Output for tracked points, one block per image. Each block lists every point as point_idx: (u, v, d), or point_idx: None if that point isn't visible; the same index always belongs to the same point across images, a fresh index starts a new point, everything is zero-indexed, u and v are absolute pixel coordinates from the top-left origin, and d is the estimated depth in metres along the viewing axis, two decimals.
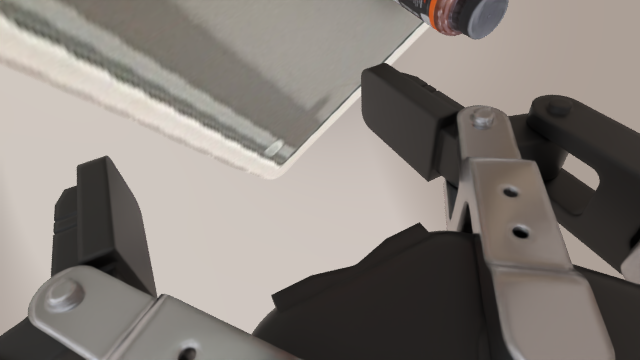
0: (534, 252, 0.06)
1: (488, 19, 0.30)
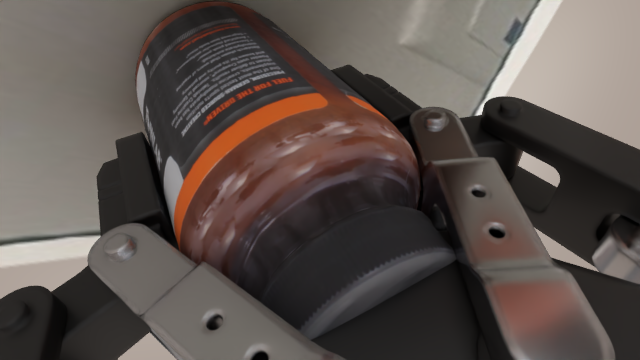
0: (534, 252, 0.06)
1: None
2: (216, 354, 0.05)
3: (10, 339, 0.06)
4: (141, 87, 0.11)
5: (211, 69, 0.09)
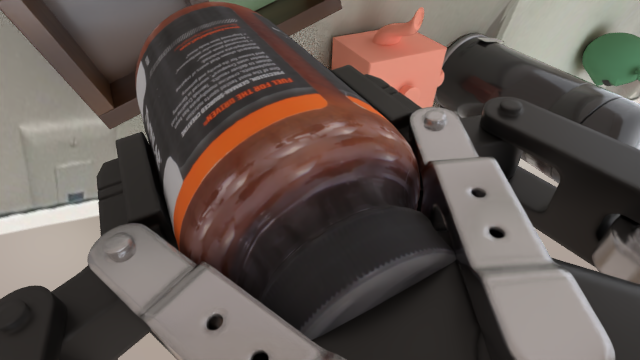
0: (534, 252, 0.06)
1: None
2: (216, 354, 0.05)
3: (11, 339, 0.06)
4: (141, 87, 0.11)
5: (211, 69, 0.09)
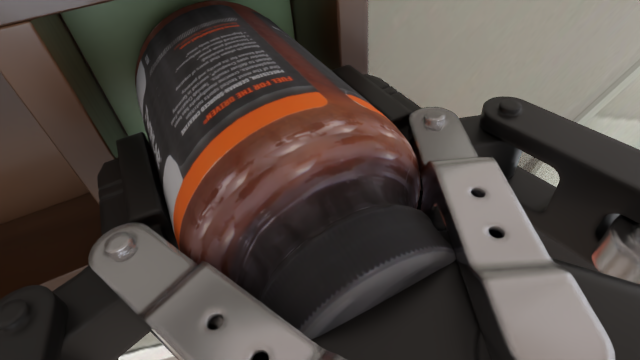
0: (534, 252, 0.06)
1: None
2: (217, 354, 0.05)
3: (12, 338, 0.06)
4: (141, 86, 0.11)
5: (211, 68, 0.09)
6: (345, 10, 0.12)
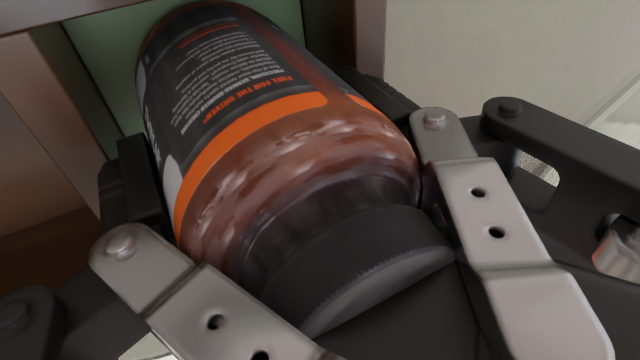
0: (534, 252, 0.06)
1: None
2: (216, 354, 0.05)
3: (11, 338, 0.06)
4: (141, 86, 0.11)
5: (211, 68, 0.09)
6: (362, 17, 0.11)
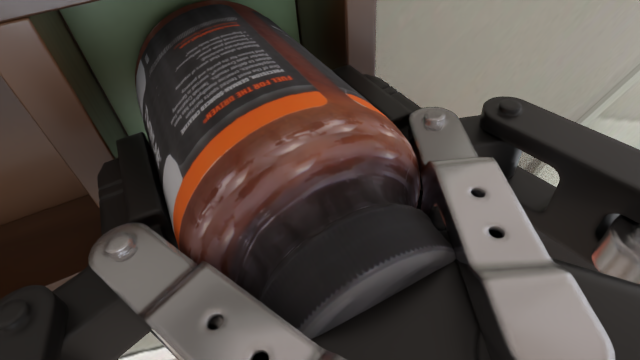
0: (534, 252, 0.06)
1: None
2: (217, 354, 0.05)
3: (11, 338, 0.06)
4: (140, 86, 0.11)
5: (210, 67, 0.09)
6: (353, 9, 0.12)
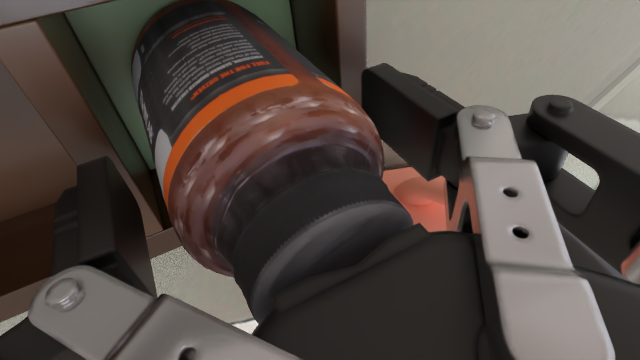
0: (534, 252, 0.06)
1: None
2: None
3: None
4: (136, 73, 0.12)
5: (199, 54, 0.10)
6: (343, 10, 0.12)
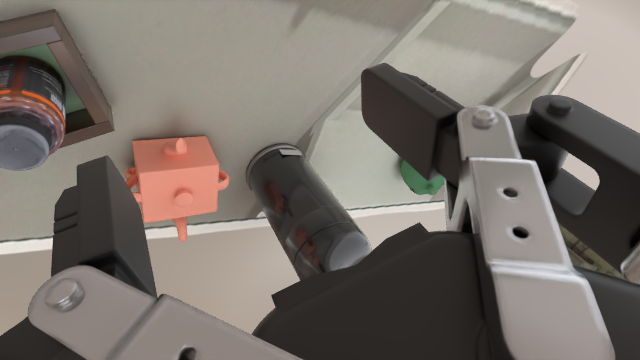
0: (534, 252, 0.06)
1: (13, 151, 0.27)
2: None
3: None
4: None
5: None
6: (62, 62, 0.31)
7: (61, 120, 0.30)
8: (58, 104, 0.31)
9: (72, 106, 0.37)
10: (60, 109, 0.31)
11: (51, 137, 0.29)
